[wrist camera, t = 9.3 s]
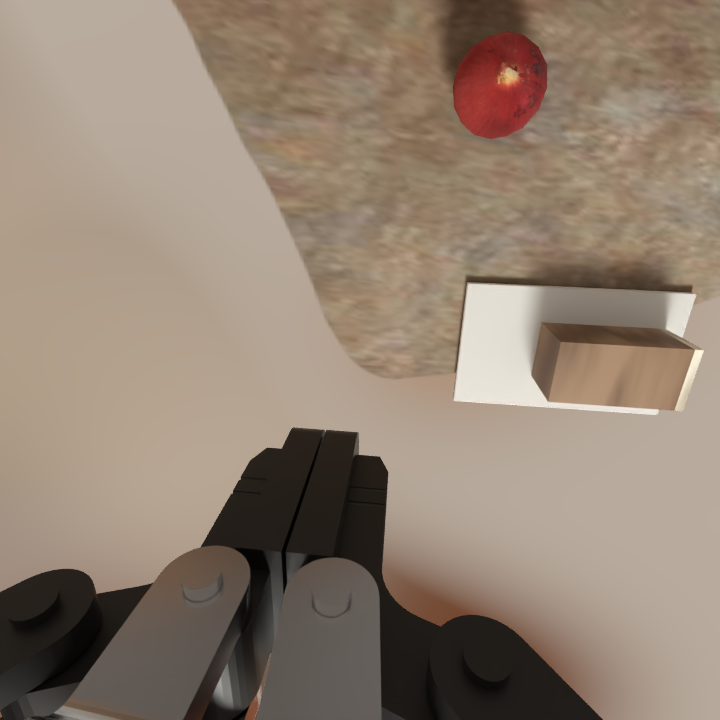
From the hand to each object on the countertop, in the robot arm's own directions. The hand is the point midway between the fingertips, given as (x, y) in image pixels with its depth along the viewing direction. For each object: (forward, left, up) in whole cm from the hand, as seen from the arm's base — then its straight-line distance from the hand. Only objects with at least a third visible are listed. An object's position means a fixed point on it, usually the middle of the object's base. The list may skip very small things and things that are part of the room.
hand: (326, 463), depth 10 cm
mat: (-16, +7, -29) cm, 34 cm away
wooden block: (-14, +7, -26) cm, 30 cm away
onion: (-7, -12, -29) cm, 32 cm away
